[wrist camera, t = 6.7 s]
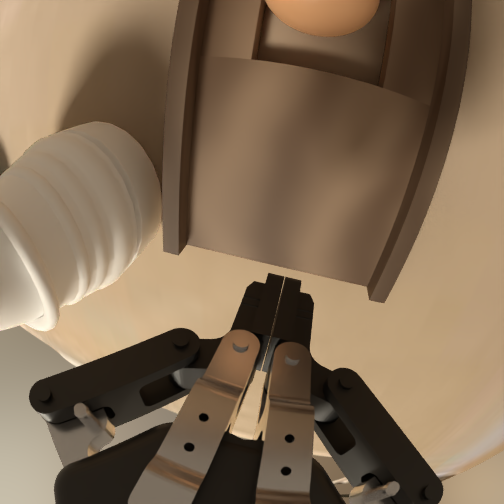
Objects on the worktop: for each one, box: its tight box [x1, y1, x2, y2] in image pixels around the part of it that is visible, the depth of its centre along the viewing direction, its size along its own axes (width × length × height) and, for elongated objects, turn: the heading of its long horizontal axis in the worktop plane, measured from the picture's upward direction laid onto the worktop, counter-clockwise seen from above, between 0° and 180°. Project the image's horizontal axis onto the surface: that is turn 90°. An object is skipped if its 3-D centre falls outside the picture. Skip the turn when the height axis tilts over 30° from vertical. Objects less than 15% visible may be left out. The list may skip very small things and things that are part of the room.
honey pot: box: [0, 121, 162, 331], centre depth 15 cm, size 13×13×18 cm
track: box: [162, 0, 472, 303], centre depth 13 cm, size 16×28×3 cm, turn 172°
